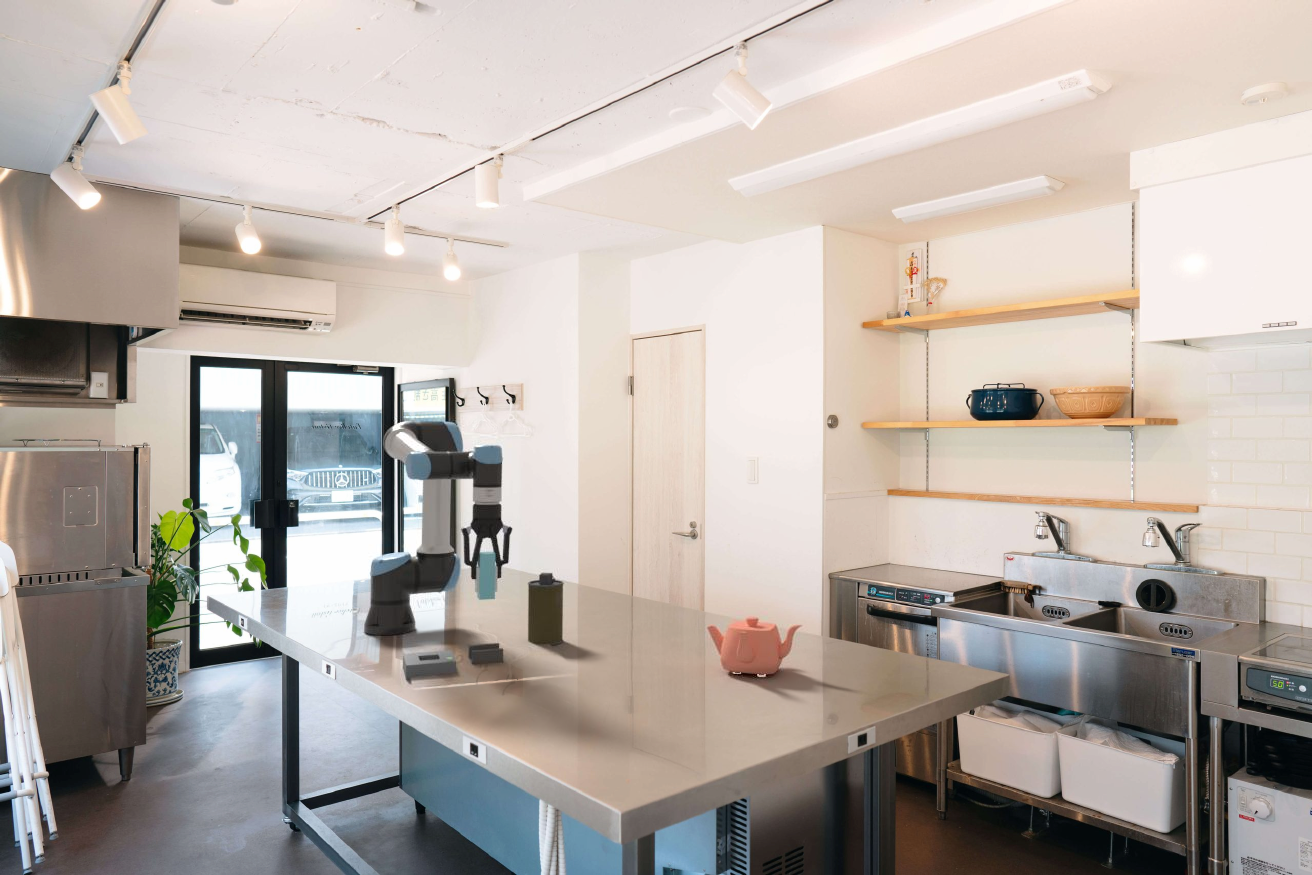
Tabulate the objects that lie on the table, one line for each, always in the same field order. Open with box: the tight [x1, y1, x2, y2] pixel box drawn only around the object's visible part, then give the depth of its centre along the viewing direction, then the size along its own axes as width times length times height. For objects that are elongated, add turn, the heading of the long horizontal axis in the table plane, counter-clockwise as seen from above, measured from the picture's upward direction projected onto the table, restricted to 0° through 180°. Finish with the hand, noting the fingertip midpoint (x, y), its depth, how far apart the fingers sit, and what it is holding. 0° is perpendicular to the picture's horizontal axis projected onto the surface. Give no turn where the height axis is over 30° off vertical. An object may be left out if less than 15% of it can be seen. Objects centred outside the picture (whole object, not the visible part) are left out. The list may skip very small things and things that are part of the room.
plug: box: [476, 551, 496, 601], centre depth 222 cm, size 4×4×12 cm
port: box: [402, 649, 457, 681], centre depth 212 cm, size 12×12×4 cm
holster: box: [467, 642, 504, 665], centre depth 222 cm, size 7×8×4 cm
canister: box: [527, 572, 565, 646], centre depth 245 cm, size 11×10×20 cm
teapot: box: [706, 616, 803, 675], centre depth 214 cm, size 18×18×14 cm
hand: (486, 590), depth 222 cm, fingers closed on plug, 4 cm apart
